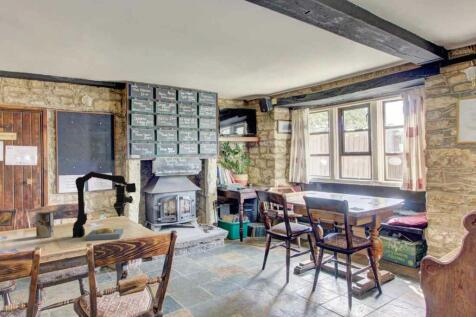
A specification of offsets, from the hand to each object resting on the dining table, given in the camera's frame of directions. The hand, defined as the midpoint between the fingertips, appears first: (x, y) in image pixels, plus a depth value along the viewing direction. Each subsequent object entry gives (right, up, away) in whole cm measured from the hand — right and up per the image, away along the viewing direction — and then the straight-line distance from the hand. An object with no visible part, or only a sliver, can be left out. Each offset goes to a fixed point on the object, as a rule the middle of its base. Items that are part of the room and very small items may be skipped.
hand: (120, 215), depth 225 cm
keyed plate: (-6, -12, -11) cm, 18 cm away
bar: (-6, -11, -11) cm, 17 cm away
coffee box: (-47, -13, -10) cm, 50 cm away
